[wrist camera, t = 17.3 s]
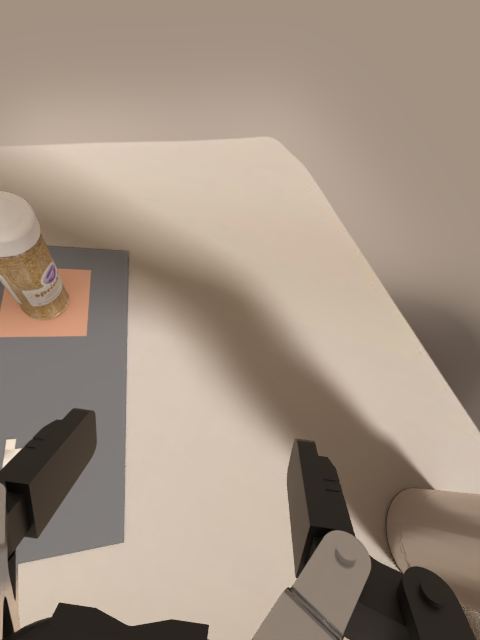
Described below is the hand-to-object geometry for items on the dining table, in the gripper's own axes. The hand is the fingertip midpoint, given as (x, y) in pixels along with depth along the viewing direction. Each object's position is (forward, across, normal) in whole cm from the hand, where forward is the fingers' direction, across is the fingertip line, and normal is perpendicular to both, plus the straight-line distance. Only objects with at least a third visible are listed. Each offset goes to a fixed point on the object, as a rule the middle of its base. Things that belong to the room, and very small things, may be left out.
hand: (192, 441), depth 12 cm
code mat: (+15, +18, +9) cm, 25 cm away
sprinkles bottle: (+20, +20, +3) cm, 29 cm away
